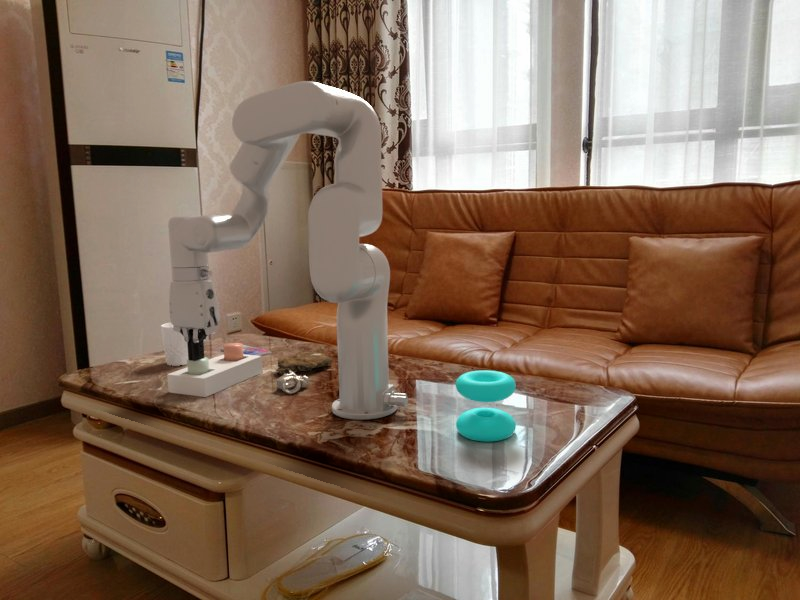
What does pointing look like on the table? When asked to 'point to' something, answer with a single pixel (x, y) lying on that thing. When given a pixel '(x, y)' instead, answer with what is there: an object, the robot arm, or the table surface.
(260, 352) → the smartphone
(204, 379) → the button box
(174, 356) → the white cup
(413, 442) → the table surface
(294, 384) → the ornament
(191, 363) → the sage button
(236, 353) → the terracotta button
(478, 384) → the donuts
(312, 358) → the decorative rock
